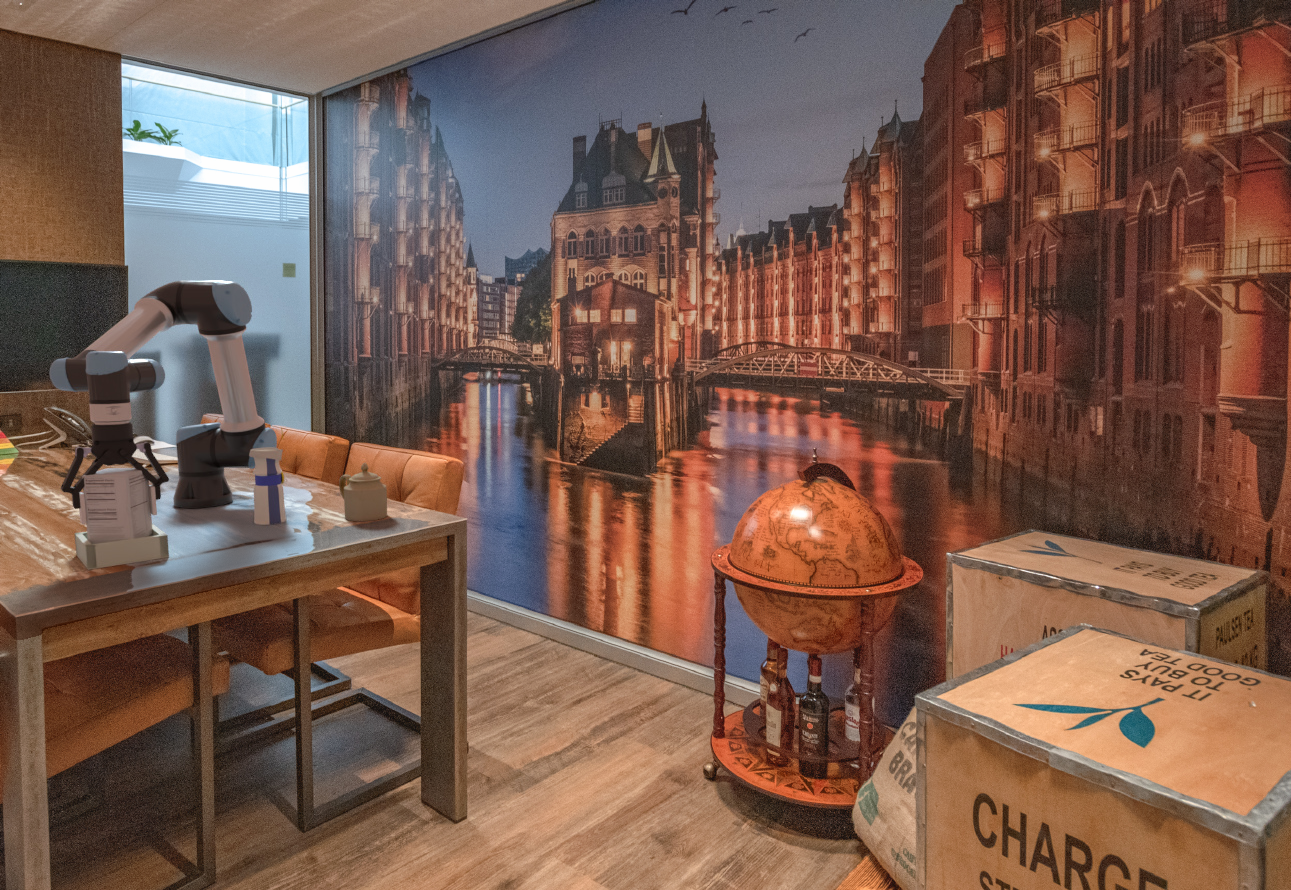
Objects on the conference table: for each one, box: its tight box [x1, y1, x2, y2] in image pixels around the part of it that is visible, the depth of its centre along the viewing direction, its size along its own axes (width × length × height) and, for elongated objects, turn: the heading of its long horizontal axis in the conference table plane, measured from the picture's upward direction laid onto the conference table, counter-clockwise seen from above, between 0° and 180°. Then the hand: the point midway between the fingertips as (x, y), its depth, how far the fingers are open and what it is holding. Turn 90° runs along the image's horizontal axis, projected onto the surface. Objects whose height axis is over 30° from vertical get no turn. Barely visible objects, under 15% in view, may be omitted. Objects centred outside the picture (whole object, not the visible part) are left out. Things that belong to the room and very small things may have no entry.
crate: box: [74, 523, 170, 570], centre depth 179 cm, size 15×15×5 cm
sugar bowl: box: [338, 462, 388, 522], centre depth 219 cm, size 15×11×15 cm
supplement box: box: [81, 467, 153, 544], centre depth 178 cm, size 10×9×17 cm
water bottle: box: [249, 427, 287, 526], centre depth 212 cm, size 8×9×25 cm
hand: (119, 518), depth 178 cm, fingers closed on supplement box, 12 cm apart
